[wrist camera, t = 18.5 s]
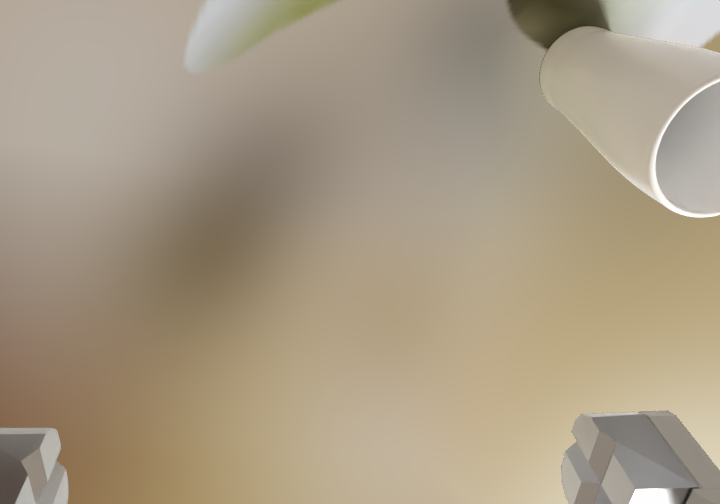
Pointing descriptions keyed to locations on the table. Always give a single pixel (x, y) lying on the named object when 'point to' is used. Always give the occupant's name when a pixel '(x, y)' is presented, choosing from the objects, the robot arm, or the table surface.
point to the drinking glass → (643, 111)
